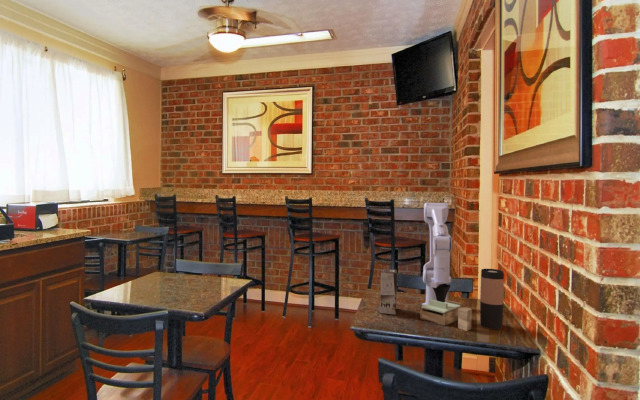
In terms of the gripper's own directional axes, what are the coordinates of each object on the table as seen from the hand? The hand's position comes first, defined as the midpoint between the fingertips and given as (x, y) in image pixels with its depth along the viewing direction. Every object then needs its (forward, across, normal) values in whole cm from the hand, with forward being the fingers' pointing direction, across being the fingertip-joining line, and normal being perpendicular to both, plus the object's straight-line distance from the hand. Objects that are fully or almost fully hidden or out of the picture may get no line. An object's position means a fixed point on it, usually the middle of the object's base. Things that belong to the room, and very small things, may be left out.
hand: (440, 303), depth 142 cm
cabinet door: (+1, -1, 0) cm, 2 cm away
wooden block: (+6, +4, +11) cm, 13 cm away
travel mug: (+6, -5, +17) cm, 18 cm away
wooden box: (+6, -1, 0) cm, 6 cm away
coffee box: (+6, +5, -20) cm, 21 cm away
